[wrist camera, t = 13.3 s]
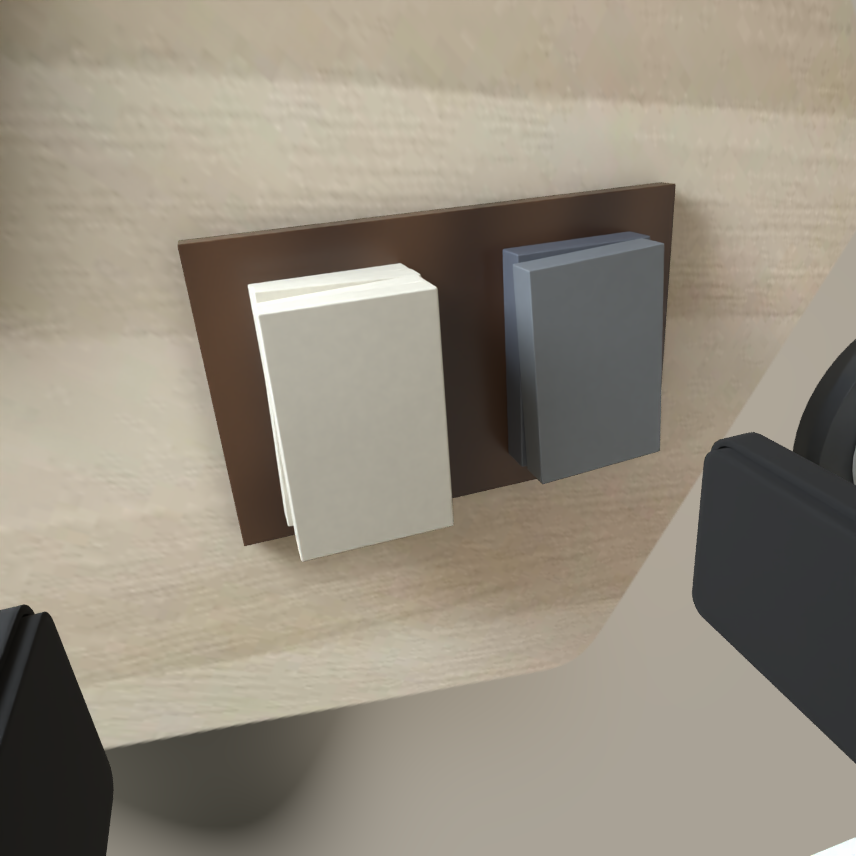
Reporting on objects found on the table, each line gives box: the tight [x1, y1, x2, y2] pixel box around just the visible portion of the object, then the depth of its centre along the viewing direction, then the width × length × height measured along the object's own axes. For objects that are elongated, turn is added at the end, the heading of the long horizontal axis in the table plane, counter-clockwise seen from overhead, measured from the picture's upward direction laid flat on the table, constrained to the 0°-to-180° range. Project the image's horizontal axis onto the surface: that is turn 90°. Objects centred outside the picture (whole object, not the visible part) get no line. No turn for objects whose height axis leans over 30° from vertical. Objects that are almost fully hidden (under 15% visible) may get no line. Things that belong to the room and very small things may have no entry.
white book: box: [254, 281, 454, 562], centre depth 29 cm, size 7×11×1 cm, turn 5°
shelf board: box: [178, 182, 675, 546], centre depth 35 cm, size 24×15×1 cm, turn 95°
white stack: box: [248, 263, 426, 526], centre depth 32 cm, size 8×11×4 cm, turn 5°
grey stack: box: [503, 231, 664, 484], centre depth 35 cm, size 7×11×4 cm, turn 5°
